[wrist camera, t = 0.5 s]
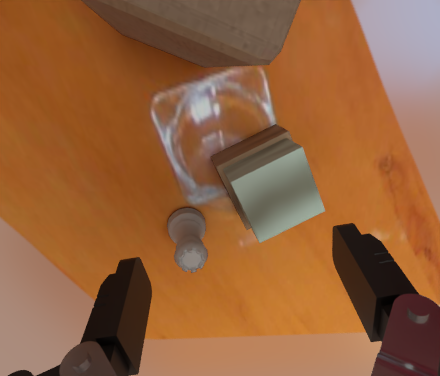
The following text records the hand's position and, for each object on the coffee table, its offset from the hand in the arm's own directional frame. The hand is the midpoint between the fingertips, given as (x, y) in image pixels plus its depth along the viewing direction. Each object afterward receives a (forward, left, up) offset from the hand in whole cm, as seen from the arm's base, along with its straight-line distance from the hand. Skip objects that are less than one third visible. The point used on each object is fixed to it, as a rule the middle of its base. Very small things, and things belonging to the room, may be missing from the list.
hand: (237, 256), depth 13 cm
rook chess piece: (+8, -5, -23) cm, 25 cm away
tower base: (+6, +5, -23) cm, 24 cm away
